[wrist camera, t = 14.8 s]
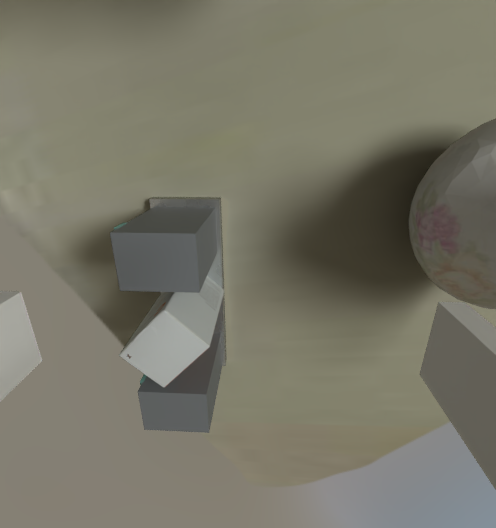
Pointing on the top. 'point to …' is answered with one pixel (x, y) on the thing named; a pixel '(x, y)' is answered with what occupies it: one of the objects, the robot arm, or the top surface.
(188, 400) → the block
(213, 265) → the rail plate
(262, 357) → the top surface
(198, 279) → the block
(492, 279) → the ceramic pitcher
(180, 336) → the small box
